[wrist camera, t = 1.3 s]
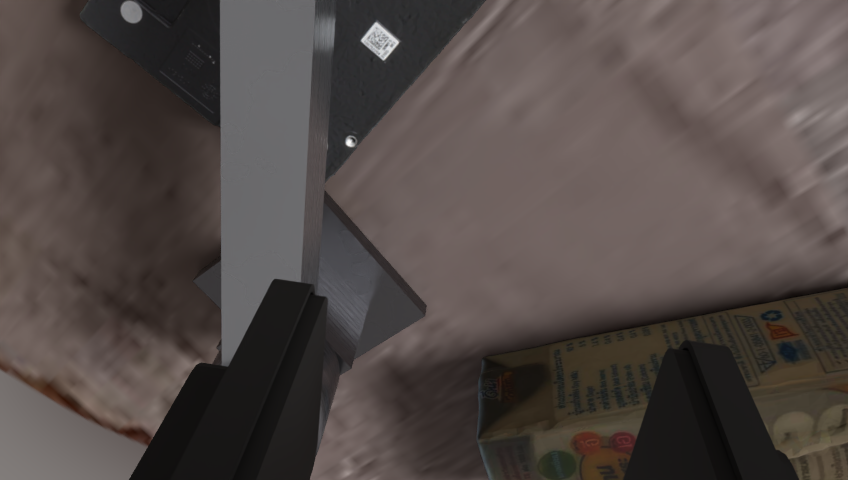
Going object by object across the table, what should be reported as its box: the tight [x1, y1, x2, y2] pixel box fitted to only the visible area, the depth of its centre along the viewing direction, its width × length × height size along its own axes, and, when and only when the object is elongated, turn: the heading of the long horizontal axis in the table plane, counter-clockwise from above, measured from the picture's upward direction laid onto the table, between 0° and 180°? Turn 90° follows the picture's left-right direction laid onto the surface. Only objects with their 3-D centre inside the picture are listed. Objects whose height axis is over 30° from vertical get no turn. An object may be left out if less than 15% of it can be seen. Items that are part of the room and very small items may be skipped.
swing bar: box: [212, 0, 340, 455], centre depth 23 cm, size 21×4×4 cm, turn 173°
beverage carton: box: [477, 288, 848, 480], centre depth 31 cm, size 8×19×7 cm, turn 106°
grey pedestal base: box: [193, 190, 427, 375], centre depth 31 cm, size 7×7×5 cm
